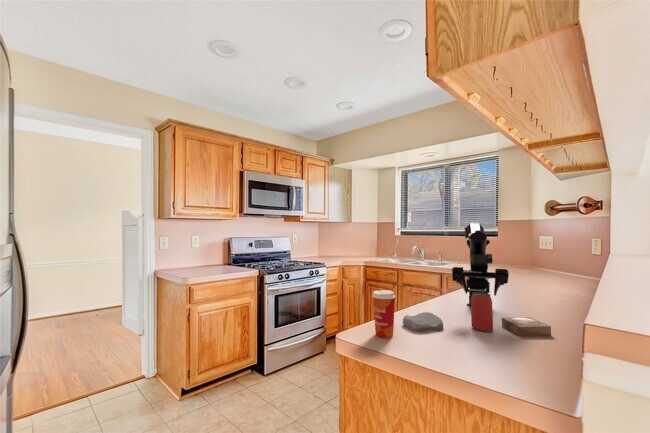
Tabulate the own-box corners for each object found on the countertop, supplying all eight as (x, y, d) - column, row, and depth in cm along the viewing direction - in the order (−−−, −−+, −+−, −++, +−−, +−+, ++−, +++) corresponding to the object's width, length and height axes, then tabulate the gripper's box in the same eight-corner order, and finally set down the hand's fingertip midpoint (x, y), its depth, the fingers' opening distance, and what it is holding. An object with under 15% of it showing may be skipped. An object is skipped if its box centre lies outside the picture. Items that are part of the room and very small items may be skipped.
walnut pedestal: (502, 326, 109) (501, 317, 109) (530, 325, 109) (530, 316, 110) (520, 336, 99) (519, 326, 99) (551, 335, 99) (550, 325, 100)
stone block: (446, 334, 107) (428, 320, 117) (447, 321, 106) (429, 308, 116) (417, 340, 104) (400, 325, 113) (417, 326, 103) (401, 313, 112)
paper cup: (368, 333, 104) (367, 290, 104) (387, 329, 107) (387, 289, 107) (380, 340, 97) (380, 295, 97) (401, 337, 100) (400, 293, 100)
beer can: (473, 331, 104) (472, 295, 105) (470, 325, 111) (469, 291, 111) (495, 333, 103) (494, 296, 103) (490, 326, 109) (489, 292, 109)
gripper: (451, 245, 120) (451, 279, 110) (507, 246, 113) (512, 282, 102) (452, 264, 127) (452, 296, 117) (505, 266, 120) (510, 301, 109)
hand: (480, 294), depth 111 cm, fingers open, 9 cm apart
